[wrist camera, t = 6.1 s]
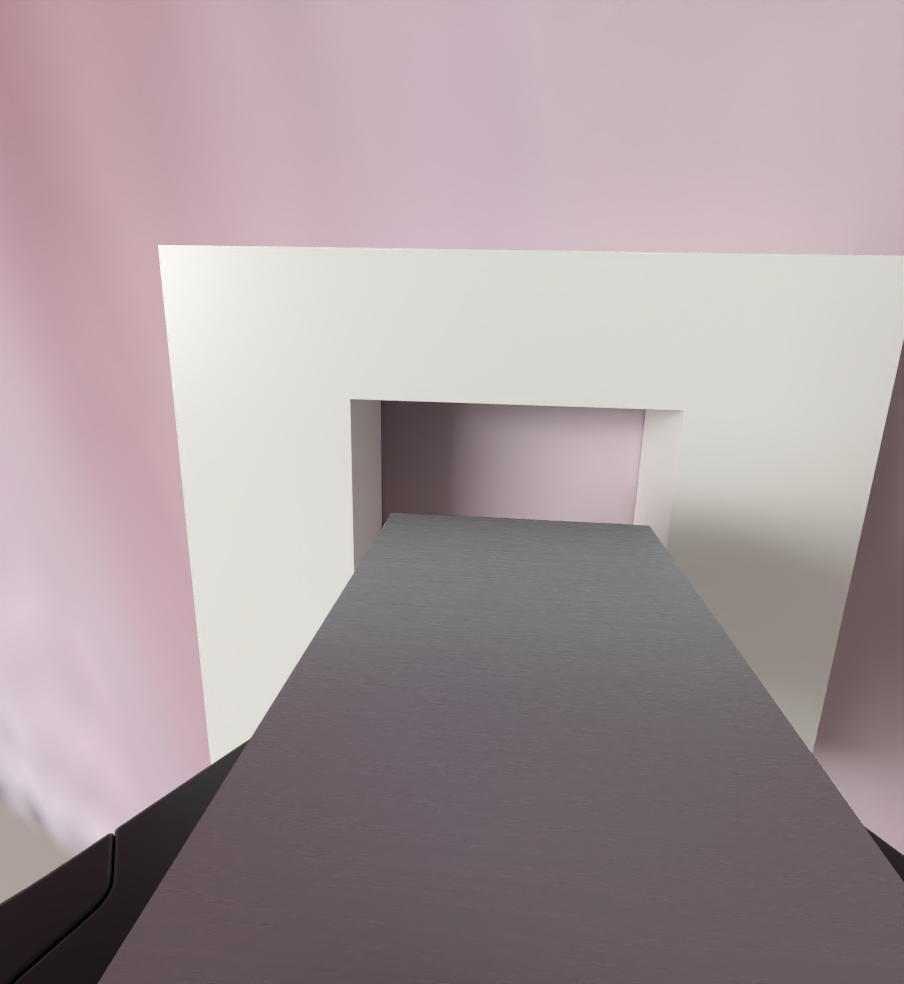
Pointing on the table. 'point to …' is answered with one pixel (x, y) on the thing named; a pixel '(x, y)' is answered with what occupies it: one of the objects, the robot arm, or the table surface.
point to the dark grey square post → (522, 791)
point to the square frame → (527, 381)
